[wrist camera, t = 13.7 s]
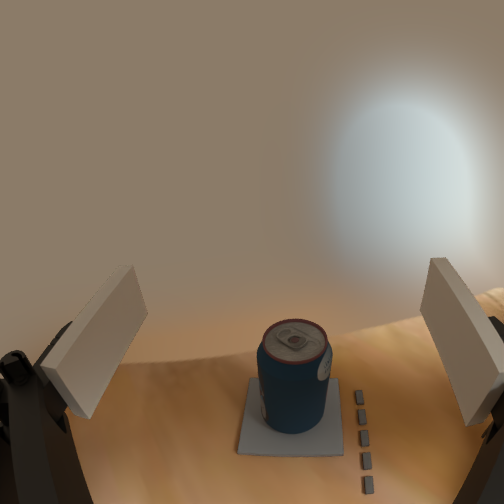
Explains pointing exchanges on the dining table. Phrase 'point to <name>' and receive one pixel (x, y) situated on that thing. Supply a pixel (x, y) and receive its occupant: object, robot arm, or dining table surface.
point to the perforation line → (365, 444)
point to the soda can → (293, 375)
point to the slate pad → (291, 445)
